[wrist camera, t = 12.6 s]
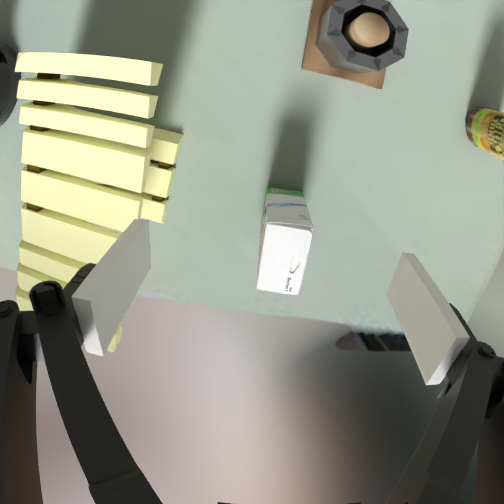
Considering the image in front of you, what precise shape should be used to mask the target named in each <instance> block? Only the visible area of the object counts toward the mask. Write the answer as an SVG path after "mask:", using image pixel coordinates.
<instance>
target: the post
mask: <svg viewBox="0 0 504 504" xmlns="http://www.w3.org/2000/svg"><path fill="white" fill-rule="evenodd" d="M336 2H338V1H336V0H313V5H312V11H311V17H310V23H309V28H308V34H307V40H306V45H305V51H304V57H303V62H302V68H301V69H303V70H308V71H313V72H317V73H322V74H326V75H330V76H334V77H338V78H342V79H346V80H350V81H354V82H357V83H361V84H364V85H368V86H371V87H375V88H378V89H382V87H383V81H384V76H385V71H386V68H384V69H382V70H380V71H377V72H369V73H361V74H356V73H353V72H349V71H345V70H341V69H337V68H333V67H331V66H330V64H329V63H328V62H327V60H326V59H325V57H324V56H323V55H322V53H321V52H320V51H319V49H318V48H317V47H316V45H315V43H316V37H317V32H318V26H319V21H320V19H321V18H322V17H323V15H324V14H325V13H326V11H327V10H328V9H329V8H330V6H331V5H332V4H334V3H336ZM341 33H342V35H343V36H344V37H345V39H346V40H347V42H348V43H349V44H350V46H351V47H352V49H353V50H354V51H355V52H359V53H362V54H366V55H370V51H371V47H374V46H377V45H379V44H382V43H384V42H385V41H386V40H387V39H388V37H389V26H388V24H387V22H386V21H385V20H384V19H383V18H382V17H381V16H379V15H377V14H375V13H364V14H362V15H360V16H359V17H357V18H356V19H355V20H353V21H349V20H346V19H344V20H343V23H342V29H341Z"/></svg>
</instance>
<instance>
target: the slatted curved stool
mask: <svg viewBox="0 0 504 504" xmlns="http://www.w3.org/2000/svg"><path fill="white" fill-rule="evenodd" d="M162 67H163V64H160V63H154V62H148V61H141V60H134V59H127V58H118V57H109V56H99V55H87V54H71V53H39V52H29V53H18V57H17V62H16V67H15V72H38V75H37V77H36V78H26V79H20V80H19V84H18V90H17V98H20V99H30V100H33V102H30V103H26V104H23V105H21V109H20V119H19V123H21V124H28V125H30V126H29V127H27V128H25V129H24V132H23V144H22V163H25V164H27V166H25V167H24V168H23V169H22V179H21V201H24V202H26V203H25V204H24V205H23V206H22V208H21V214H22V235H23V240H22V241H21V242H20V245H19V254H20V263H19V265H18V267H17V275H18V281H19V284H18V286H17V288H16V297H17V302H18V306H19V309H20V311H34V310H33V307H32V304H31V301H30V297H29V292H30V290H31V289H32V287H33V286H35V285H36V284H38V283H40V282H43V281H48V280H51V281H56V282H58V283H60V285H61V286H62V290H63V289H64V287H65V286H66V285H67V284H68V282H70V280H71V279H72V278H73V276H75V274H76V273H77V271H78V270H79V269H80V268H81V267H83V266H85V265H86V264H88V263H94V264H97V263H98V262H99V261H100V260H101V258H102V257H103V256H104V255H105V253H106V252H107V251H108V250H109V249H110V247H111V246H112V245H113V244H114V243H115V241H116V240H117V239H118V238H119V237H120V235H121V234H120V233H117V232H114V231H111V230H108V229H105V228H102V227H100V226H97V225H94V224H92V223H95V224H98V225H101V226H105V227H108V228H111V229H115V230H118V231H121V232H124V231H125V230H126V228H127V227H128V226H129V225H130V224H131V223H132V222H133V220H134V219H140V217H142V218H146V219H149V220H153V221H156V222H160V223H163V224H164V221H165V216H166V211H167V206H168V201H169V200H167V199H165V198H167V197H168V195H169V194H170V191H171V186H172V182H173V177H174V173H175V168H174V167H172V165H173V164H175V163H176V162H177V159H178V155H179V151H180V147H181V143H182V139H183V135H184V134H180V133H175V132H171V131H167V130H163V129H158V128H154V126H153V125H149V124H144V123H140V122H135V121H130V120H126V119H121V118H116V117H112V116H107V115H102V114H97V113H93V112H88V111H84V110H81V109H77V108H75V107H73V106H71V105H77V106H83V107H90V108H96V109H102V110H107V111H113V112H118V113H124V114H129V115H134V116H139V117H143V118H151V117H153V116H154V112H155V108H156V104H157V100H158V96H156V95H151V94H145V93H140V92H134V91H129V90H123V89H117V88H111V87H105V86H98V85H92V84H86V83H80V82H75V81H73V80H69V79H60V75H61V74H67V75H77V76H87V77H95V78H103V79H111V80H118V81H124V82H131V83H137V84H143V85H148V86H158V82H159V78H160V74H161V71H162ZM55 102H56V103H55ZM57 103H63V104H57ZM64 104H70V105H64ZM150 159H152V160H156V161H159V164H158V163H154V162H150ZM142 192H145V193H149V194H152V195H149V194H145V193H142ZM87 221H88V222H87ZM89 222H92V223H89ZM124 316H125V315H124ZM123 318H124V317H123ZM121 336H122V326H121V325H119V327H118V329H117V331H116V333H115V335H114V337H113V338H112V340H111V342H110V344H109V346H108V348H107V351H110V352H114V351H115V349H116V347H117V345H118V343H119V341H120V339H121Z"/></svg>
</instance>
